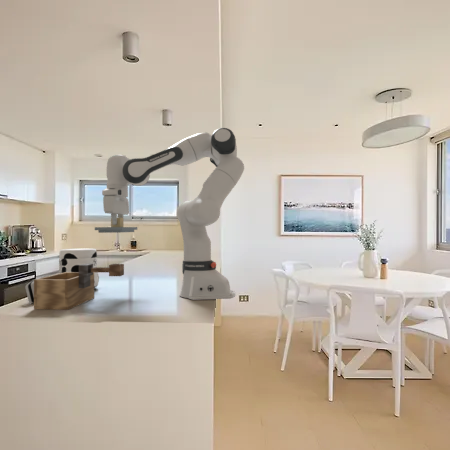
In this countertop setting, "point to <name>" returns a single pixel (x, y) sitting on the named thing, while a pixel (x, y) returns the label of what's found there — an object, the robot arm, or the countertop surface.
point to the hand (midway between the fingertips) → (117, 224)
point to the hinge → (31, 290)
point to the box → (64, 289)
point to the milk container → (78, 260)
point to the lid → (116, 228)
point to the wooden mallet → (111, 269)
